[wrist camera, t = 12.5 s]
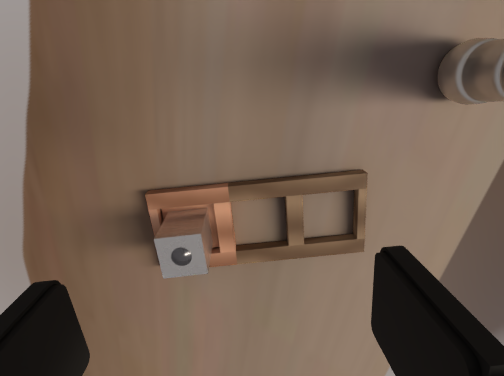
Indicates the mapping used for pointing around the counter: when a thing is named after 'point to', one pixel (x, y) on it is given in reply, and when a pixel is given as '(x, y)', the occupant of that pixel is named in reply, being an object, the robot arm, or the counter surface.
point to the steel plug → (184, 243)
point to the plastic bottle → (473, 72)
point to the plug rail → (289, 187)
